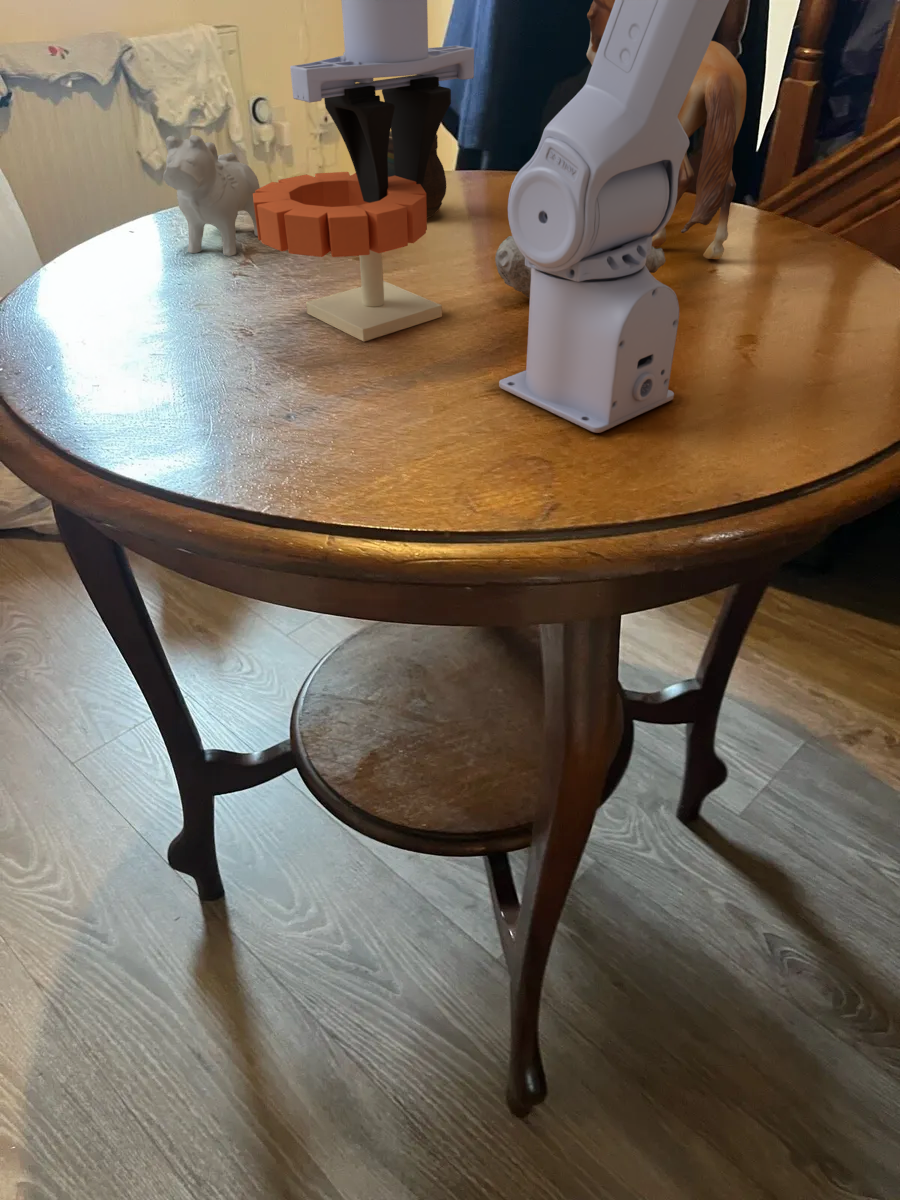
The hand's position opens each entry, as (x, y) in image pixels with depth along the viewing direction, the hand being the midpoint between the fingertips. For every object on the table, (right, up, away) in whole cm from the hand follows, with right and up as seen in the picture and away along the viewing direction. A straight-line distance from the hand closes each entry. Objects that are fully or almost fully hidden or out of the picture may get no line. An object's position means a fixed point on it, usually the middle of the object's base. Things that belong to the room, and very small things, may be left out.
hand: (392, 198), depth 67 cm
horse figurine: (+22, +6, +23) cm, 33 cm away
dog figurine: (-18, +5, +22) cm, 29 cm away
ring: (-4, -3, -2) cm, 5 cm away
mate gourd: (0, +12, +30) cm, 32 cm away
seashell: (+15, -4, +10) cm, 19 cm away
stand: (-2, -7, +7) cm, 10 cm away
